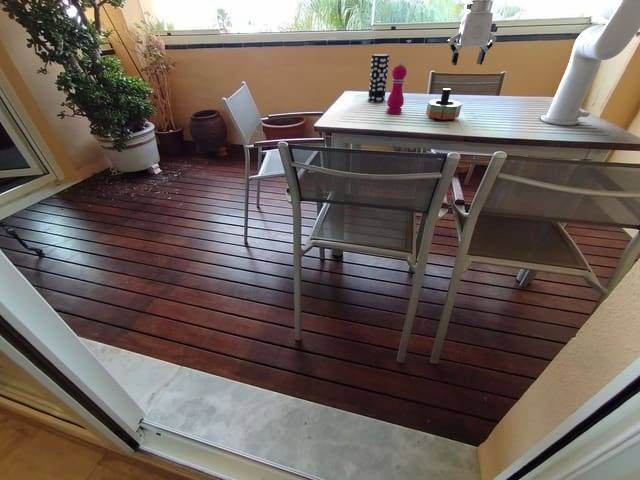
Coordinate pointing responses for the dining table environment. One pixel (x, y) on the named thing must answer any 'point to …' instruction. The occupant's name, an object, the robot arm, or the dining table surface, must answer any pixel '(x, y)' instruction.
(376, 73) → the white-spotted black cylinder
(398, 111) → the pepper mill
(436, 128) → the dining table surface
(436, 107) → the ring green
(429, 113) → the ring terracotta
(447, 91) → the peg stand
